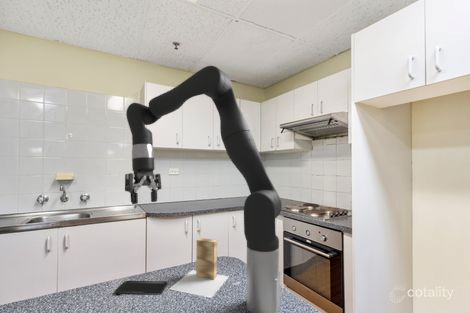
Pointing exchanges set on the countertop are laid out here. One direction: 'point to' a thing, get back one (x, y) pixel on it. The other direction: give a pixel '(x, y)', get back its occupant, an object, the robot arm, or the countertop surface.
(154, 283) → the phone
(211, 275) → the brown flat rectangular block
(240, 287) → the countertop surface
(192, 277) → the white square pad
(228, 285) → the countertop surface
